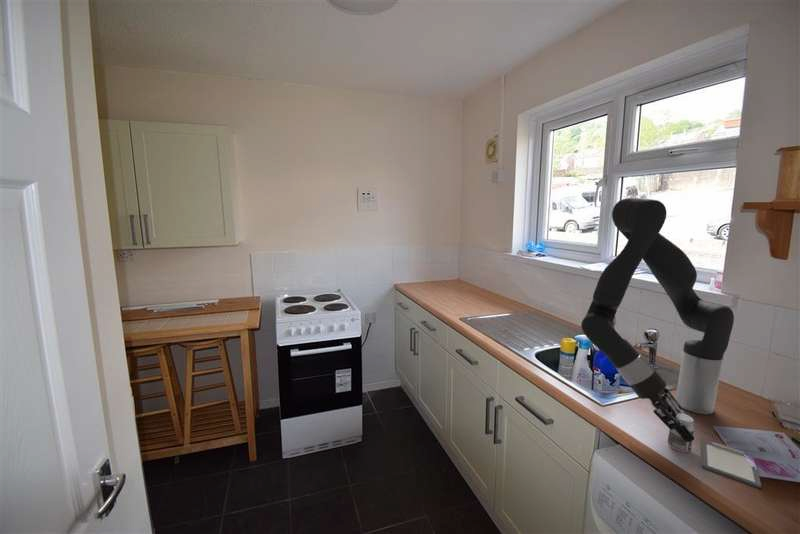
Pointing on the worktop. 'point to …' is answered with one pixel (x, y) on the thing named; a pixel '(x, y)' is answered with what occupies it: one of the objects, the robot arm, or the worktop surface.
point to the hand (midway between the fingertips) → (690, 434)
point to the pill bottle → (676, 439)
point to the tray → (729, 463)
